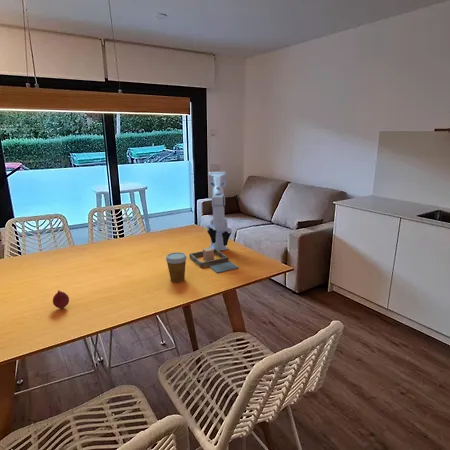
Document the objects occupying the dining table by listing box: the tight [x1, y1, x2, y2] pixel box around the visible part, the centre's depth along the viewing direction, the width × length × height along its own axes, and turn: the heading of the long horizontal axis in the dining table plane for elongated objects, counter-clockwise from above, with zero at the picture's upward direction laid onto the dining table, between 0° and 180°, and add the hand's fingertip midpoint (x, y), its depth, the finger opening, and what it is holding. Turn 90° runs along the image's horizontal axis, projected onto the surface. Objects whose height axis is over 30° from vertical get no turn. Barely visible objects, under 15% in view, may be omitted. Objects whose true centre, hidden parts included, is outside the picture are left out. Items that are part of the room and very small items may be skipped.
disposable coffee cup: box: [165, 251, 188, 283], centre depth 157 cm, size 10×10×12 cm
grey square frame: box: [189, 249, 230, 269], centre depth 182 cm, size 16×16×2 cm
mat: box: [208, 261, 239, 274], centre depth 172 cm, size 10×12×1 cm
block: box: [202, 247, 215, 262], centre depth 181 cm, size 4×4×6 cm
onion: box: [52, 289, 70, 310], centre depth 134 cm, size 6×6×8 cm
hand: (219, 244), depth 177 cm, fingers open, 7 cm apart
